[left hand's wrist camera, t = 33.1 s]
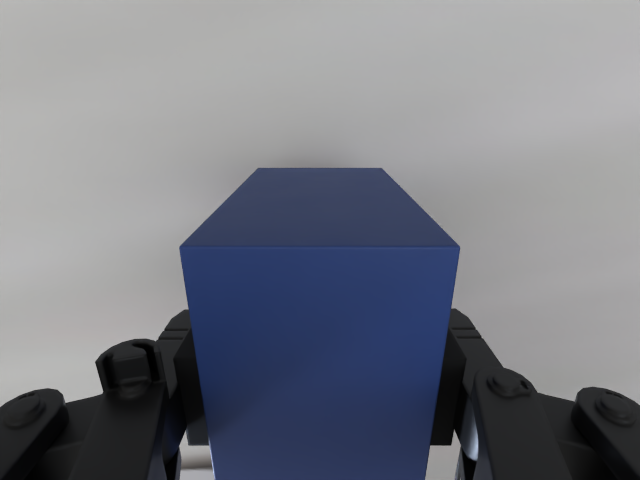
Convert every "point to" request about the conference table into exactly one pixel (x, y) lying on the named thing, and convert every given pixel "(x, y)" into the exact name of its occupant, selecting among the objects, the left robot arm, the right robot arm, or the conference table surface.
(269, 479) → the block
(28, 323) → the conference table surface
